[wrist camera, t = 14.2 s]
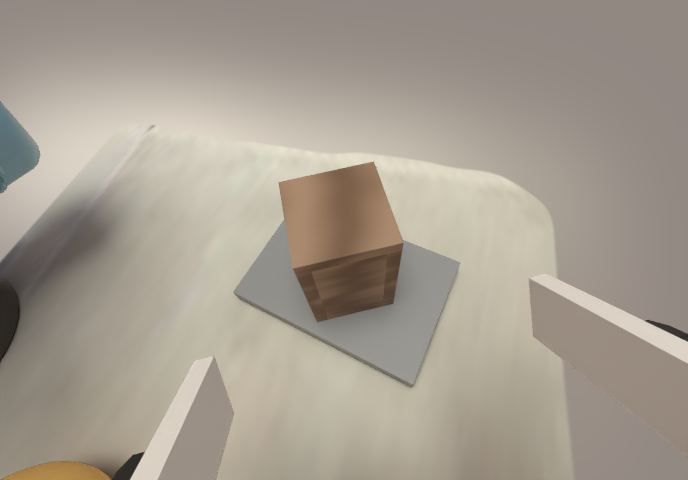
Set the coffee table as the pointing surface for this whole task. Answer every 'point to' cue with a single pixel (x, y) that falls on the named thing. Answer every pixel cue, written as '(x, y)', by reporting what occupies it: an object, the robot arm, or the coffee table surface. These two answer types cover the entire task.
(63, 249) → the coffee table surface
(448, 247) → the coffee table surface
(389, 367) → the stub plate
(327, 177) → the brown wooden block
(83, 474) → the stress ball
